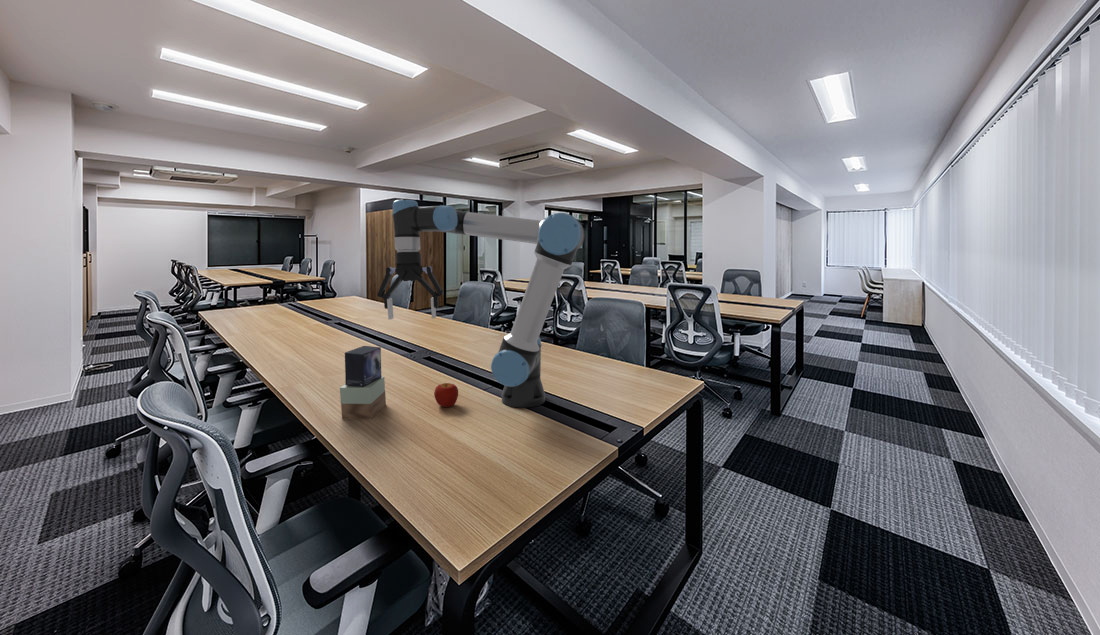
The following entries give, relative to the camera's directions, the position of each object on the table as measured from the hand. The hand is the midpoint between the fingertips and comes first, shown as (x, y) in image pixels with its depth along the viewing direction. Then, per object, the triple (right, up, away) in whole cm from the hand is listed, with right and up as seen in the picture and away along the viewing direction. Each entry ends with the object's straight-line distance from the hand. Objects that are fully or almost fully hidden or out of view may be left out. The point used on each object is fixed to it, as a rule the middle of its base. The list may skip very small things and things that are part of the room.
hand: (412, 318), depth 136 cm
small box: (-14, -20, -2) cm, 25 cm away
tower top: (-15, -25, -1) cm, 29 cm away
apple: (+10, -29, +6) cm, 31 cm away
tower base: (-15, -30, 0) cm, 33 cm away
